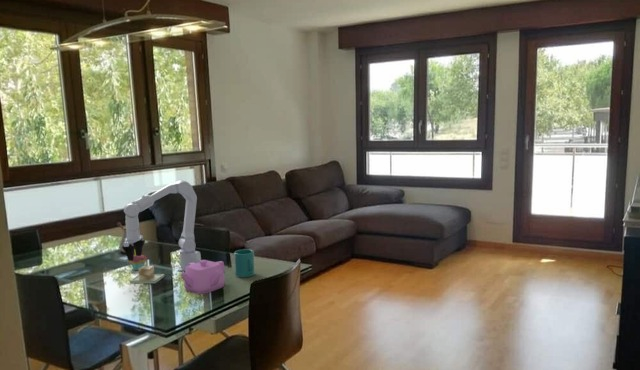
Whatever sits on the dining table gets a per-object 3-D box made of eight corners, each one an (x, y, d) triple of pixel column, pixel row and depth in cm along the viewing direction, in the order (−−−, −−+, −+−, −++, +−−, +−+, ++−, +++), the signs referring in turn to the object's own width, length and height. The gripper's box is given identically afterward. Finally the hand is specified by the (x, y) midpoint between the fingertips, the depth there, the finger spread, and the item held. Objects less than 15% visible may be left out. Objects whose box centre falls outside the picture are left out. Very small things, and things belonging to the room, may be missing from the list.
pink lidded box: (226, 280, 214) (224, 254, 212) (222, 293, 197) (221, 265, 196) (187, 283, 212) (186, 256, 210) (181, 296, 195) (179, 267, 194)
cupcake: (141, 271, 231) (139, 247, 229) (125, 270, 233) (123, 247, 231) (150, 266, 239) (149, 243, 238) (135, 265, 241) (133, 242, 240)
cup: (245, 281, 213) (243, 256, 212) (231, 275, 222) (230, 251, 221) (261, 276, 219) (261, 253, 217) (248, 270, 228) (247, 248, 226)
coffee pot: (143, 251, 270) (141, 225, 268) (123, 255, 262) (121, 228, 261) (129, 244, 286) (128, 220, 284) (110, 248, 278) (108, 223, 276)
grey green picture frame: (164, 276, 222) (164, 274, 222) (155, 283, 212) (155, 281, 212) (140, 276, 223) (140, 273, 223) (129, 283, 214) (129, 280, 213)
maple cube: (154, 276, 220) (153, 265, 219) (149, 279, 215) (148, 269, 215) (144, 276, 221) (143, 265, 220) (139, 279, 216) (138, 269, 215)
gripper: (132, 226, 226) (134, 253, 228) (116, 232, 212) (118, 262, 214) (146, 226, 226) (148, 253, 227) (131, 232, 211) (133, 262, 213)
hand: (134, 258), depth 220 cm, fingers open, 7 cm apart
